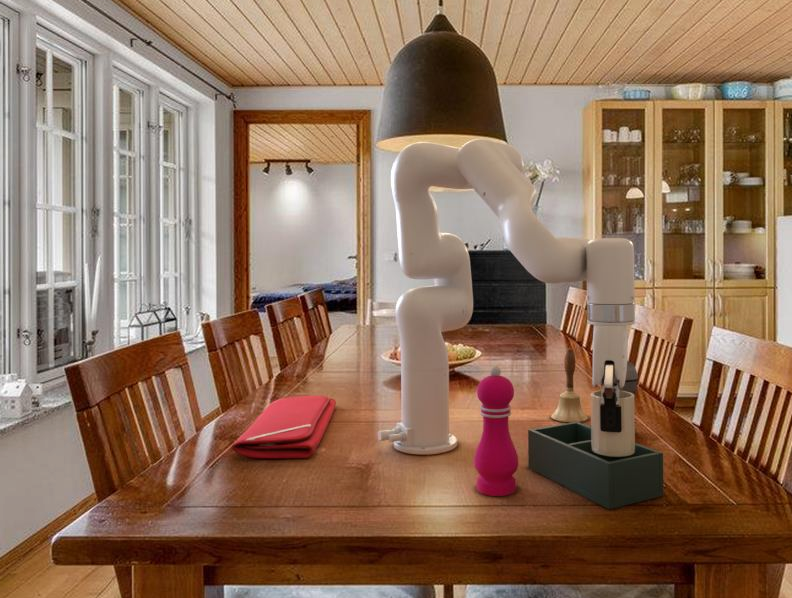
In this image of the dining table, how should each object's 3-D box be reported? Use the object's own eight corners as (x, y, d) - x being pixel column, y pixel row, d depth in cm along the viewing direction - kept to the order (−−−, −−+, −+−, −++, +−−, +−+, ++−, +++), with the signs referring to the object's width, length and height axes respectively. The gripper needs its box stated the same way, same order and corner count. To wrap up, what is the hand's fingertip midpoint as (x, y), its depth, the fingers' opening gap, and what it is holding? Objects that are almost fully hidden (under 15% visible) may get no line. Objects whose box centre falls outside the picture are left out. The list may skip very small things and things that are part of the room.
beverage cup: (640, 438, 135) (639, 340, 135) (603, 436, 136) (602, 340, 136) (637, 429, 142) (636, 336, 142) (603, 427, 143) (602, 335, 144)
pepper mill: (505, 501, 102) (504, 371, 102) (465, 492, 106) (464, 367, 106) (526, 486, 108) (525, 364, 108) (487, 478, 112) (486, 360, 112)
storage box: (609, 509, 99) (608, 463, 99) (528, 467, 117) (528, 429, 118) (663, 496, 104) (663, 452, 104) (577, 458, 123) (577, 421, 123)
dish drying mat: (337, 406, 164) (337, 391, 164) (315, 458, 123) (315, 438, 123) (273, 408, 163) (273, 393, 163) (229, 461, 122) (229, 441, 122)
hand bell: (593, 416, 153) (592, 347, 153) (579, 424, 146) (579, 352, 146) (560, 412, 157) (559, 344, 157) (545, 419, 150) (544, 349, 150)
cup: (611, 459, 101) (610, 400, 102) (583, 447, 107) (582, 392, 108) (644, 452, 105) (643, 395, 105) (615, 441, 111) (614, 388, 111)
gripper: (592, 309, 116) (594, 411, 115) (581, 319, 99) (583, 438, 99) (636, 309, 114) (638, 413, 113) (632, 320, 97) (634, 442, 97)
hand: (612, 424), depth 106 cm, fingers closed on cup, 6 cm apart
